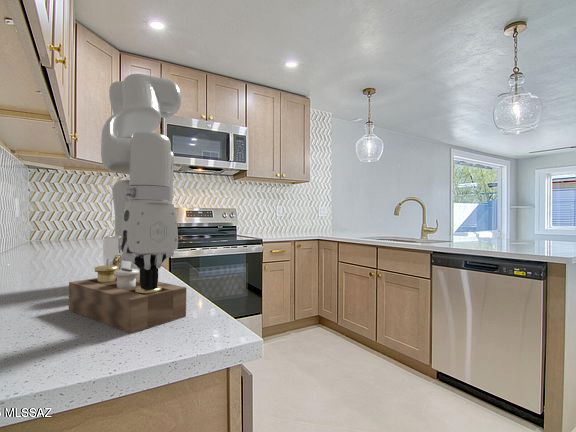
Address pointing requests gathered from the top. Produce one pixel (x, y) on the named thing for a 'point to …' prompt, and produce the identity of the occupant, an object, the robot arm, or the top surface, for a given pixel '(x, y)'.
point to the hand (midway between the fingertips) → (148, 288)
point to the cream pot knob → (126, 277)
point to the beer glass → (114, 252)
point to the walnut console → (127, 304)
